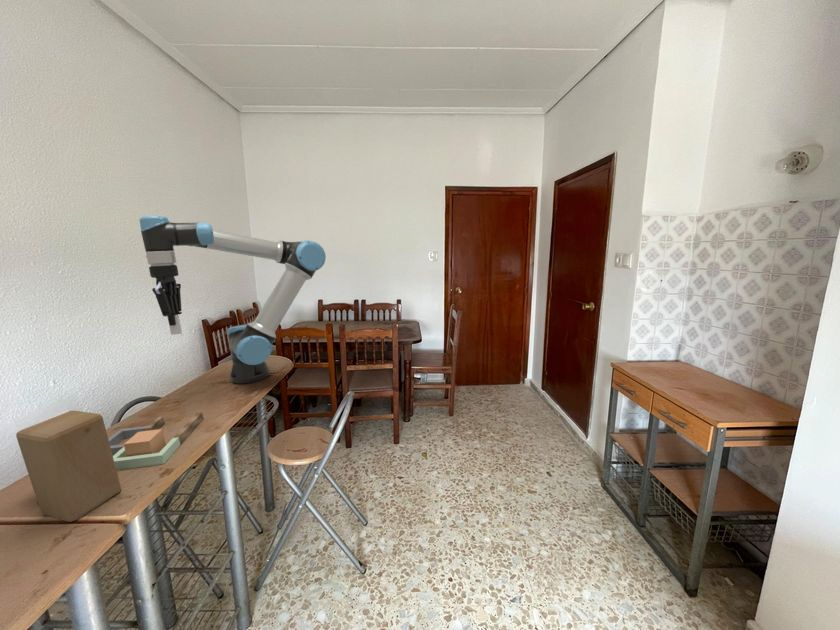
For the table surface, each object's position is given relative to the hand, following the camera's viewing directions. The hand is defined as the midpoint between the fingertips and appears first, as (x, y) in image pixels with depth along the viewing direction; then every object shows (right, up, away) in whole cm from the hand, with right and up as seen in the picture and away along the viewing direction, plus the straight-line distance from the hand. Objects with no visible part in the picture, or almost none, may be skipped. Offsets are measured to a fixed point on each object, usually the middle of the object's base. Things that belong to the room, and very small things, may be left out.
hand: (176, 333), depth 116 cm
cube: (+10, -32, -24) cm, 41 cm away
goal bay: (+10, -32, -25) cm, 42 cm away
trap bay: (-2, -31, -19) cm, 36 cm away
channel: (+8, -30, -14) cm, 34 cm away
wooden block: (+9, -36, -41) cm, 55 cm away
